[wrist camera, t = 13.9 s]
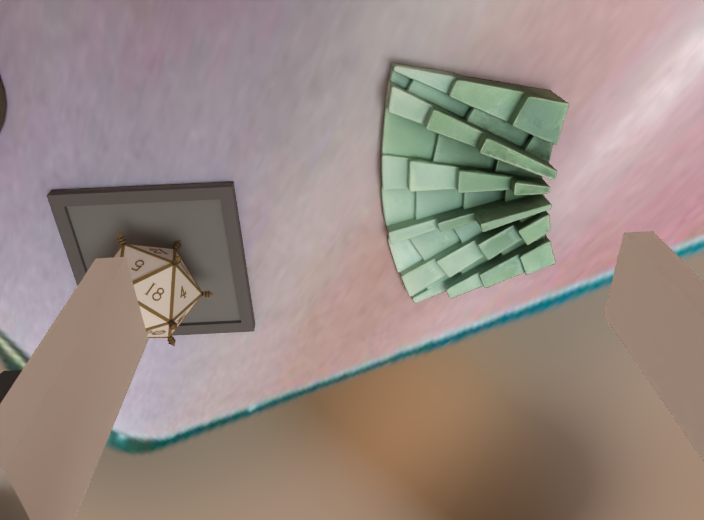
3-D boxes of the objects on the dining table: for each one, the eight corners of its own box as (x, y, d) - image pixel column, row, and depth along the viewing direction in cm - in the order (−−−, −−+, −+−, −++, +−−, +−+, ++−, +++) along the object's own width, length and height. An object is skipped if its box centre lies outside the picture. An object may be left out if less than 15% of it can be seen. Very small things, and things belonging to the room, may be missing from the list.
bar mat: (52, 189, 44) (46, 195, 43) (233, 181, 44) (231, 186, 44) (99, 332, 51) (95, 339, 51) (255, 324, 52) (253, 331, 51)
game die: (192, 237, 50) (251, 300, 44) (134, 313, 51) (185, 386, 45) (107, 193, 43) (165, 261, 37) (40, 282, 43) (87, 364, 38)
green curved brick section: (588, 227, 49) (613, 257, 44) (412, 297, 52) (419, 331, 47) (523, -6, 39) (547, 4, 35) (310, 98, 42) (309, 118, 38)
